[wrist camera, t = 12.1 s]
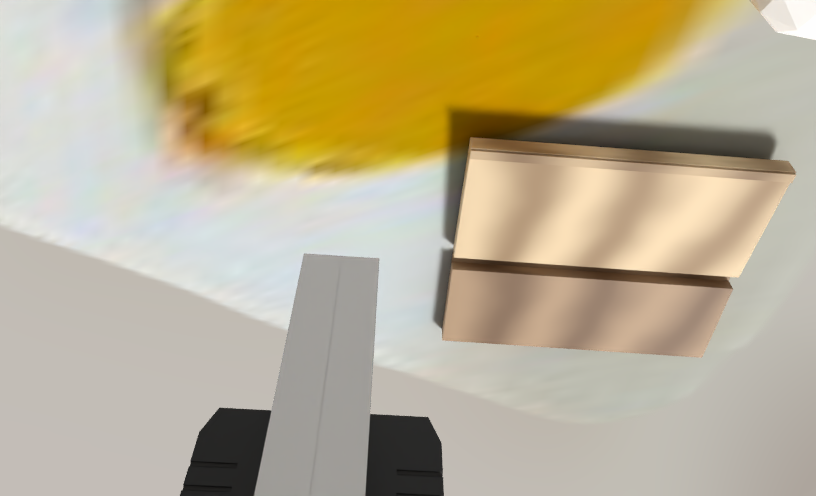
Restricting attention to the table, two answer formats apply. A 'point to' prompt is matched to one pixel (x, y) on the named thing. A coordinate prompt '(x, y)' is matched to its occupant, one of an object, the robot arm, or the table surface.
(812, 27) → the ornament
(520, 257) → the plank
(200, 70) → the table surface
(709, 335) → the laid strip
